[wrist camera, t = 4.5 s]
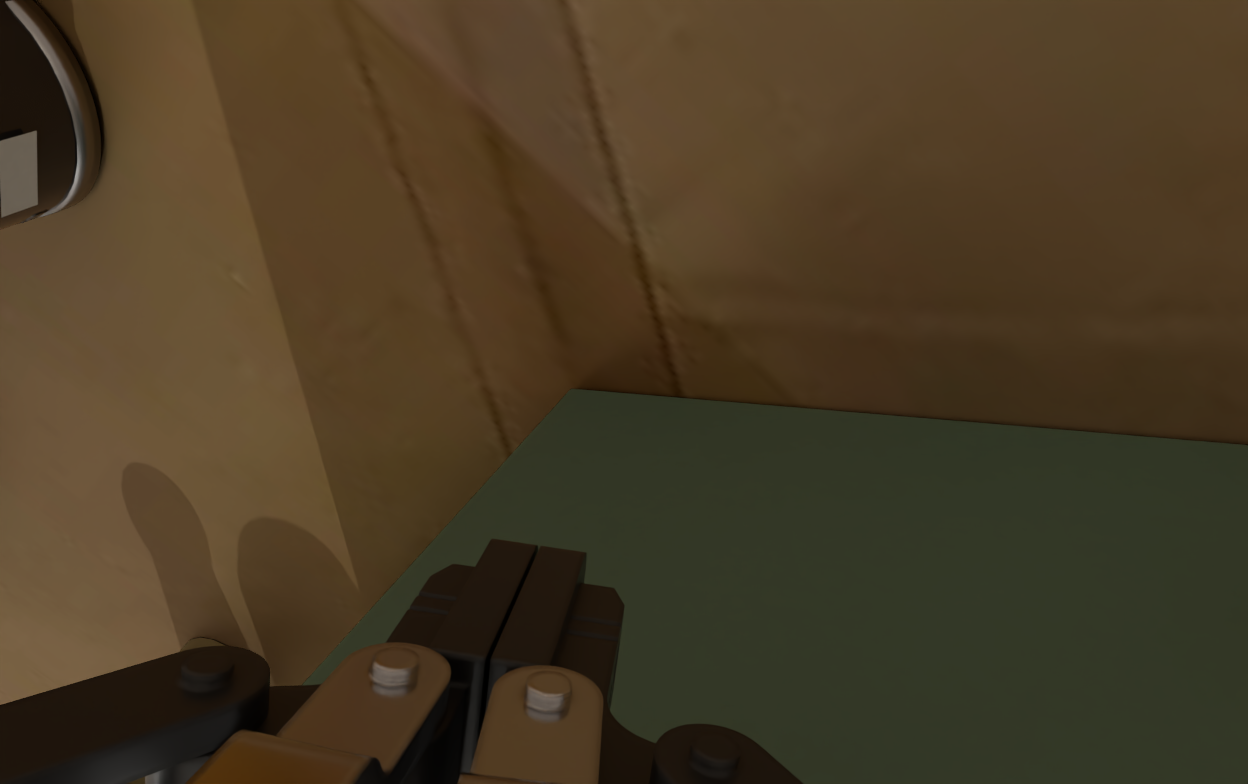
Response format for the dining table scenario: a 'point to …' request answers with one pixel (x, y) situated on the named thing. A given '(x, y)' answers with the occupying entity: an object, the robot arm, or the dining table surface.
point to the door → (892, 586)
